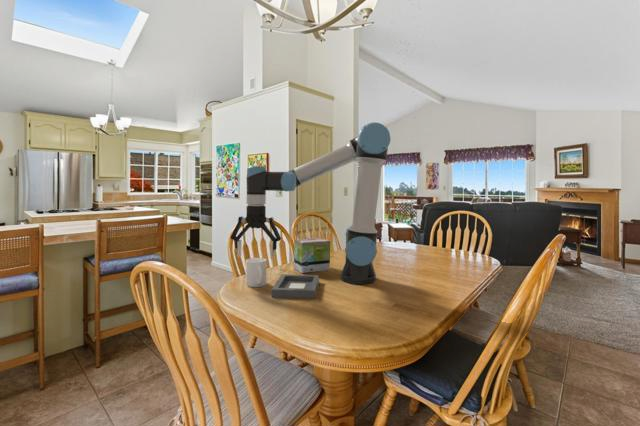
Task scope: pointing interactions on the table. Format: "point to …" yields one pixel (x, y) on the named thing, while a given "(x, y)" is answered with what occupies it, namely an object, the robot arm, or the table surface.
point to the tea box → (311, 255)
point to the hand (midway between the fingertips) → (255, 257)
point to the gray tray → (296, 286)
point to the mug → (256, 272)
